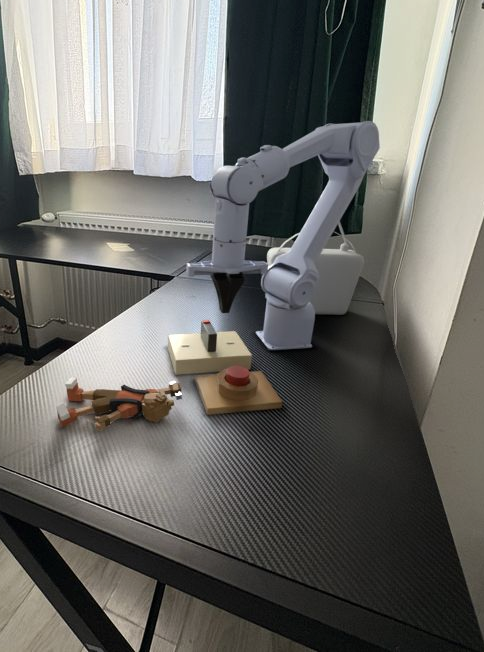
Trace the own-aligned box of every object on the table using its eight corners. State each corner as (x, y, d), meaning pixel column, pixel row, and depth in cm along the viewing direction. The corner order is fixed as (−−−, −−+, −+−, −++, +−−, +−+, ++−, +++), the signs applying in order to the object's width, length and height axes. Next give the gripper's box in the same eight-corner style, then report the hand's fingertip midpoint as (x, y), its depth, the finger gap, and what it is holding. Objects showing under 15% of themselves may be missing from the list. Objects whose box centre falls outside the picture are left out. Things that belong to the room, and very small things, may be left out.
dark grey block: (216, 351, 69) (217, 332, 67) (207, 352, 69) (208, 333, 67) (208, 336, 74) (209, 319, 73) (200, 337, 74) (201, 319, 73)
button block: (260, 376, 67) (262, 361, 66) (281, 408, 59) (284, 392, 58) (194, 381, 65) (195, 366, 64) (206, 415, 57) (208, 398, 56)
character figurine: (78, 365, 63) (184, 368, 59) (84, 391, 65) (187, 394, 61) (41, 410, 52) (167, 417, 48) (48, 439, 54) (171, 447, 50)
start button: (244, 374, 63) (245, 365, 62) (251, 386, 60) (252, 377, 59) (223, 375, 62) (224, 366, 62) (229, 388, 59) (230, 378, 58)
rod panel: (234, 343, 78) (235, 329, 77) (250, 369, 69) (252, 354, 68) (167, 347, 76) (167, 333, 75) (175, 375, 67) (175, 359, 66)
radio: (342, 304, 100) (360, 209, 91) (354, 317, 93) (376, 214, 83) (259, 301, 101) (270, 206, 92) (265, 314, 93) (277, 211, 84)
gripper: (193, 245, 60) (190, 321, 66) (278, 243, 63) (269, 317, 68) (185, 236, 67) (183, 306, 72) (262, 235, 69) (255, 303, 74)
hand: (224, 311), depth 70 cm, fingers closed
